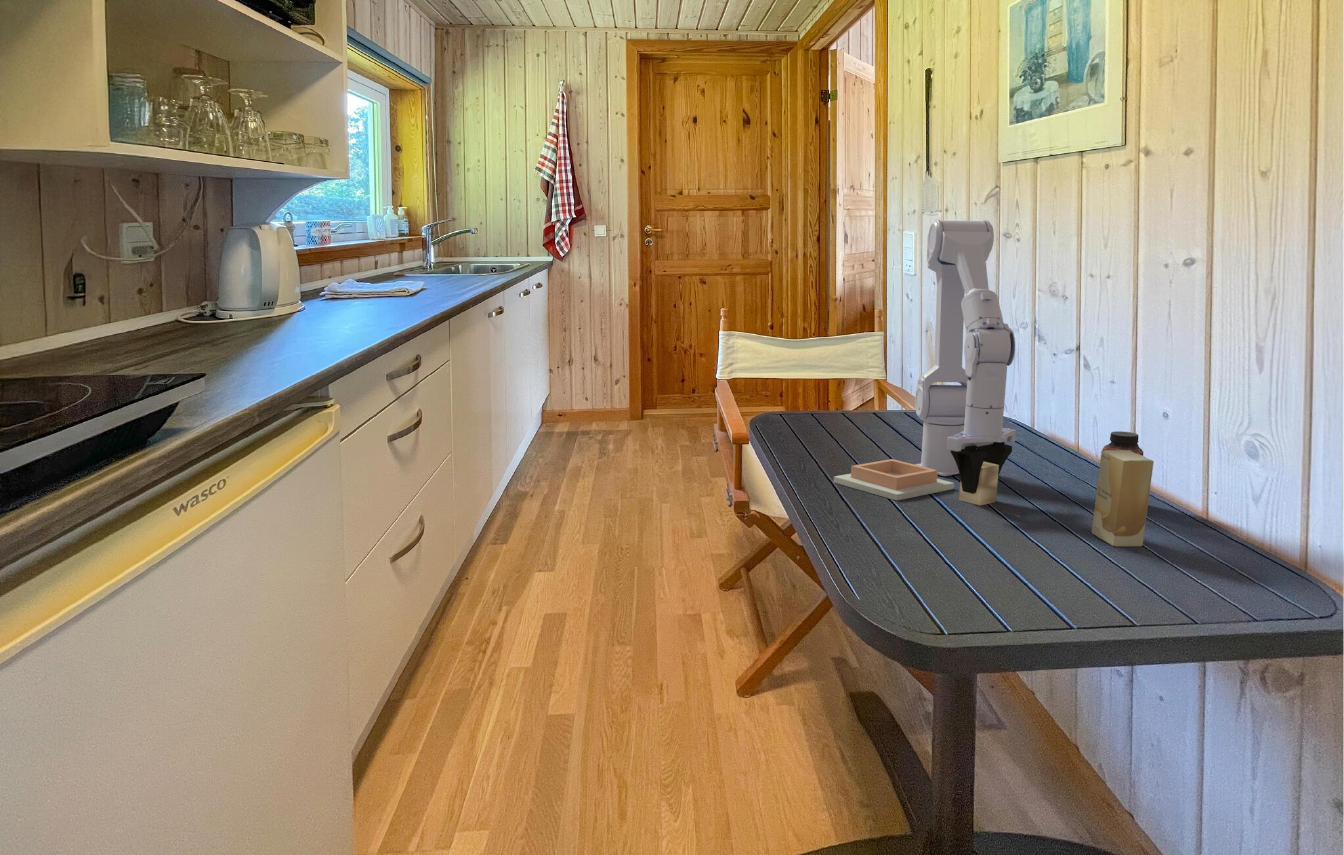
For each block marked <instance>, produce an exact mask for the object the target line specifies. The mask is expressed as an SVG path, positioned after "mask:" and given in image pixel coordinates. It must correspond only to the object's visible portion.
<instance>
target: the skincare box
mask: <svg viewBox="0 0 1344 855" xmlns="http://www.w3.org/2000/svg"><path fill="white" fill-rule="evenodd" d="M1154 462H1155V461H1154V460H1153V459H1150V458H1148V457H1146V456H1144V455H1143V456H1142V455H1140V454H1136V453H1134V452H1132V451H1130V450H1107V451H1102V450H1101V451H1100V461H1099V470H1098V477H1097V479H1098V480H1097V486H1096V487H1097V488H1096V493H1095V494H1096V495H1095V503H1094V510H1093V519H1092V526H1091V533H1092V534H1093V535H1095V537H1097V538H1099V539H1101V540H1103V541H1104V542H1106V543H1108V544H1109V545H1111V546H1112V547H1114V546H1115V547H1142V546H1143V545H1144V537H1145V531H1146V530H1145V529H1146V522H1147V515H1148V506H1149V498H1150V492H1151V486H1152V485H1151V483H1152V476H1153V470H1154V469H1153V468H1154Z"/></svg>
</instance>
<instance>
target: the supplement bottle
mask: <svg viewBox="0 0 1344 855" xmlns="http://www.w3.org/2000/svg"><path fill="white" fill-rule="evenodd" d="M1109 437H1110V438H1109V442H1110V443H1109V444H1108V443H1107V444H1106V445H1104V447H1103V448H1102V450H1101V451H1107V450H1130V451H1132V452H1134V453H1136V454H1140V455H1142V456H1144V451H1143V449H1142V448H1141V447H1140V446H1139V434H1137V433H1135V432H1131V431H1122V430H1121V431H1112V432H1110V436H1109Z"/></svg>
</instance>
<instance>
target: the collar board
mask: <svg viewBox="0 0 1344 855" xmlns="http://www.w3.org/2000/svg"><path fill="white" fill-rule="evenodd" d="M850 467H851V469H850V470H851V471H850V473H845V474H842V475H840V474H839V475H835V476H833V483H834V484H837V485H842V486H846V487H849V488H852V489H856V490H859V491H862V492H866V493H869V494H873V495H876V496H880V497H882V498H886V499H890V500H894V501H902V500H907V499H912V498H916V497H921V496H925V495H931V494H934V493H941V492H944V491H950V490H954V489H955V482H952V481H948V480H944V479H941V478H938V475H937V472H938V470H934V469H930V468H926V467H922V466H918V465H915V463H914V464H913V463H909V462H905V461H901V460H897V459H894V458H891V459H885V460H884V459H883V460H879V461H873V462H866V463H861V464H855V465H851V466H850Z"/></svg>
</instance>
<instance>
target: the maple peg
mask: <svg viewBox="0 0 1344 855" xmlns="http://www.w3.org/2000/svg"><path fill="white" fill-rule="evenodd" d="M998 471H999V465H996V464H992V463H988V462H983V464H982V467H981V471H980V475H979V482H978V487H977V491H976V493H974V494H972V493H968V492H964V491H963V490H962V484H961V480H960V483H959V495H958V496H959V497H958V498H959V499H958V501H962V502H966V503H970V504H973V505H977V506H984V505H988V504H992V503H996V502H997V496H998V495H997V494H998V481H999V476H998Z"/></svg>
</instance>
